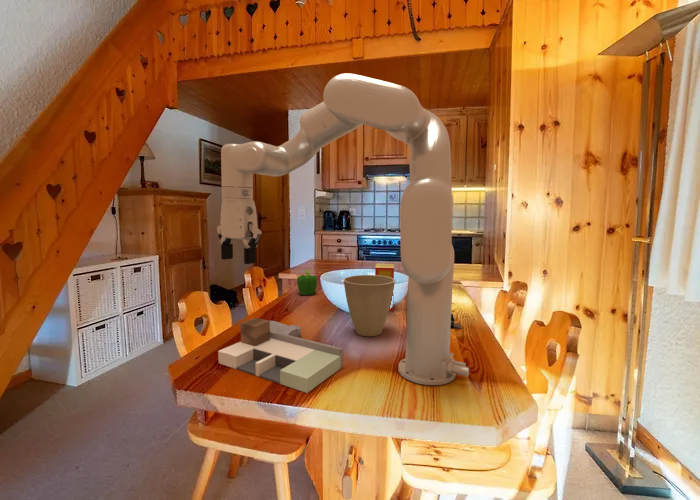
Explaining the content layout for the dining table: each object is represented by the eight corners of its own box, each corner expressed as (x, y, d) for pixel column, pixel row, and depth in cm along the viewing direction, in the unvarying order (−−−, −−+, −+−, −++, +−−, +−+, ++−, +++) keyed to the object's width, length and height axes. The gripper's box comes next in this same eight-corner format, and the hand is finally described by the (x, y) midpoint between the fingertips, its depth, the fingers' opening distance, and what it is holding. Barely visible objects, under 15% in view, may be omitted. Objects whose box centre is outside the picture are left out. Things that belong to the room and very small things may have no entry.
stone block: (272, 334, 107) (249, 339, 98) (275, 319, 108) (252, 321, 99) (305, 343, 102) (283, 348, 93) (307, 326, 102) (286, 330, 93)
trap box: (342, 366, 82) (342, 348, 81) (307, 393, 70) (306, 371, 70) (260, 344, 95) (259, 328, 94) (218, 363, 83) (217, 344, 83)
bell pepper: (314, 297, 145) (314, 273, 143) (294, 296, 146) (294, 272, 145) (319, 292, 153) (319, 269, 152) (301, 291, 154) (301, 268, 153)
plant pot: (402, 329, 107) (403, 278, 105) (378, 345, 94) (379, 287, 92) (360, 320, 115) (360, 272, 113) (333, 334, 103) (333, 280, 101)
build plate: (428, 331, 107) (428, 316, 107) (423, 323, 115) (424, 309, 114) (469, 331, 107) (469, 317, 107) (462, 323, 114) (462, 310, 114)
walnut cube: (270, 339, 90) (269, 320, 89) (255, 346, 86) (255, 326, 85) (255, 336, 92) (255, 317, 92) (241, 342, 88) (240, 322, 88)
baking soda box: (393, 311, 125) (394, 267, 123) (374, 310, 126) (375, 266, 124) (392, 304, 135) (393, 262, 133) (375, 303, 135) (376, 262, 134)
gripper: (271, 195, 88) (271, 263, 90) (230, 195, 98) (231, 256, 100) (246, 194, 82) (246, 267, 84) (205, 194, 92) (206, 258, 94)
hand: (238, 261), depth 92 cm, fingers open, 9 cm apart
